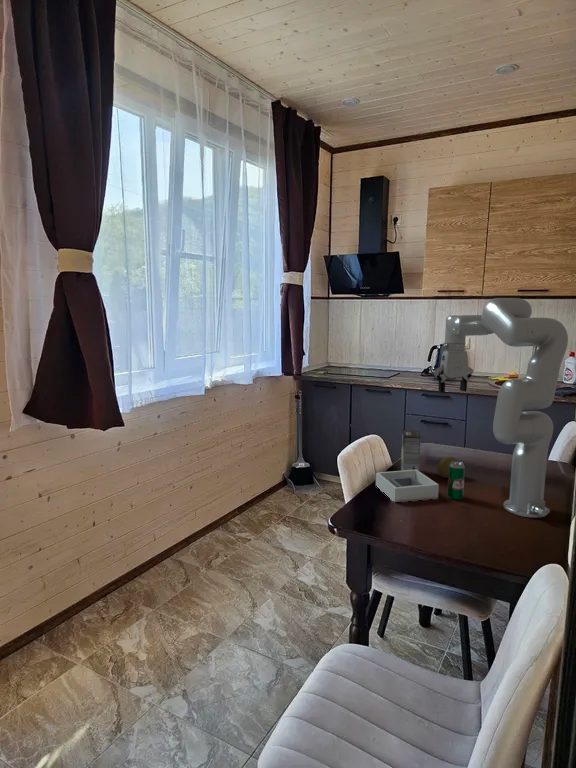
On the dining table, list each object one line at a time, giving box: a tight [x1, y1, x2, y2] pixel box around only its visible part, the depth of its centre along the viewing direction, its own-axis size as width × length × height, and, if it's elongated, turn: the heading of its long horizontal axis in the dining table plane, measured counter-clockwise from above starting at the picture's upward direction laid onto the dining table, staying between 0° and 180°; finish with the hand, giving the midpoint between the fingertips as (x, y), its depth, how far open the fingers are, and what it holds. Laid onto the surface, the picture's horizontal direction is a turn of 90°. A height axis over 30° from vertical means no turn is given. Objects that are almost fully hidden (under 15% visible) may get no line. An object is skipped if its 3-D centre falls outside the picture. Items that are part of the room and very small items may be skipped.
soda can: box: [446, 460, 466, 501], centre depth 163 cm, size 5×5×12 cm
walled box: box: [375, 470, 440, 503], centre depth 168 cm, size 16×16×5 cm
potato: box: [437, 456, 458, 479], centre depth 182 cm, size 7×8×8 cm
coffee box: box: [400, 429, 422, 472], centre depth 186 cm, size 9×6×16 cm
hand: (452, 391), depth 191 cm, fingers open, 9 cm apart
